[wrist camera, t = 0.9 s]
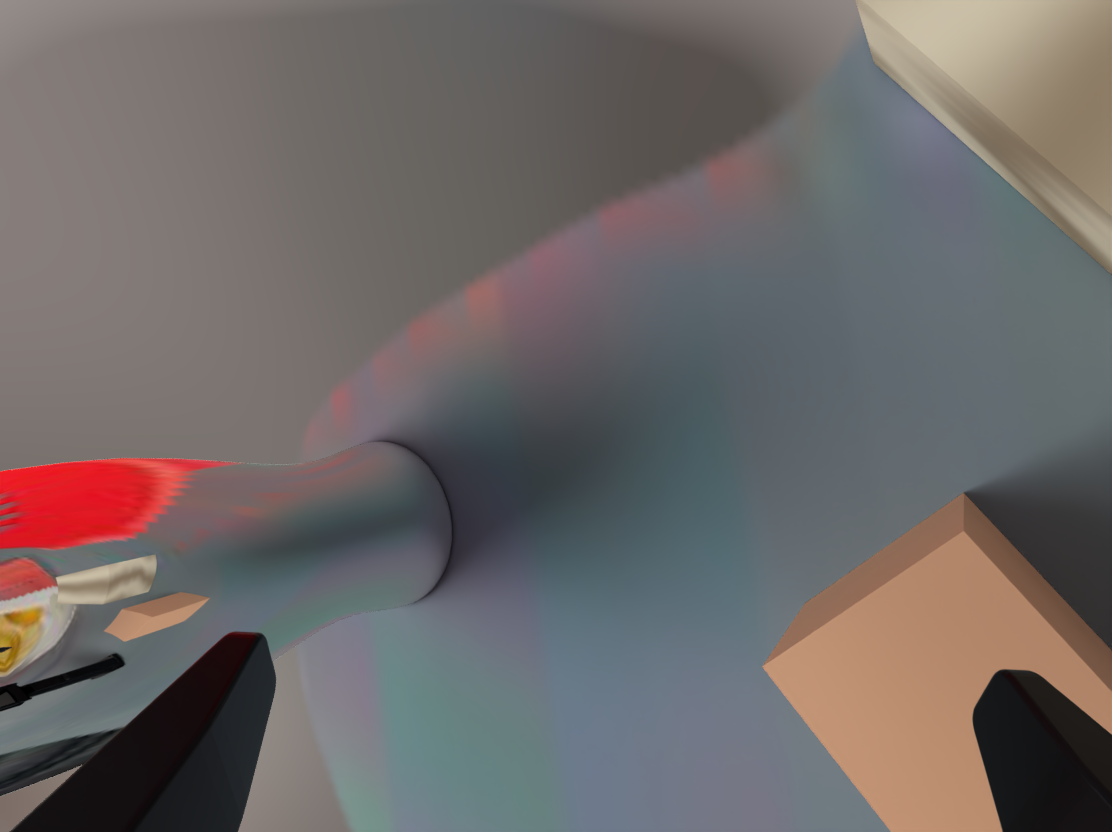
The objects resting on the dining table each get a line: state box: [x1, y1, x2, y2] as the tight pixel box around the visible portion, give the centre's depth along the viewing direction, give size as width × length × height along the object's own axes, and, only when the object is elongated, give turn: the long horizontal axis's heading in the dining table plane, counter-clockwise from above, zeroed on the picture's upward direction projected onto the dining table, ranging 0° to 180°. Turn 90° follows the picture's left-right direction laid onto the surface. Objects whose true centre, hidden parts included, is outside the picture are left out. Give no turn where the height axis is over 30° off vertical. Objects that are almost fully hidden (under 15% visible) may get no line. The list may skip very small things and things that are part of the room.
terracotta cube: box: [762, 493, 1112, 832], centre depth 17 cm, size 5×5×5 cm
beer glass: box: [0, 441, 452, 796], centre depth 21 cm, size 7×7×15 cm
